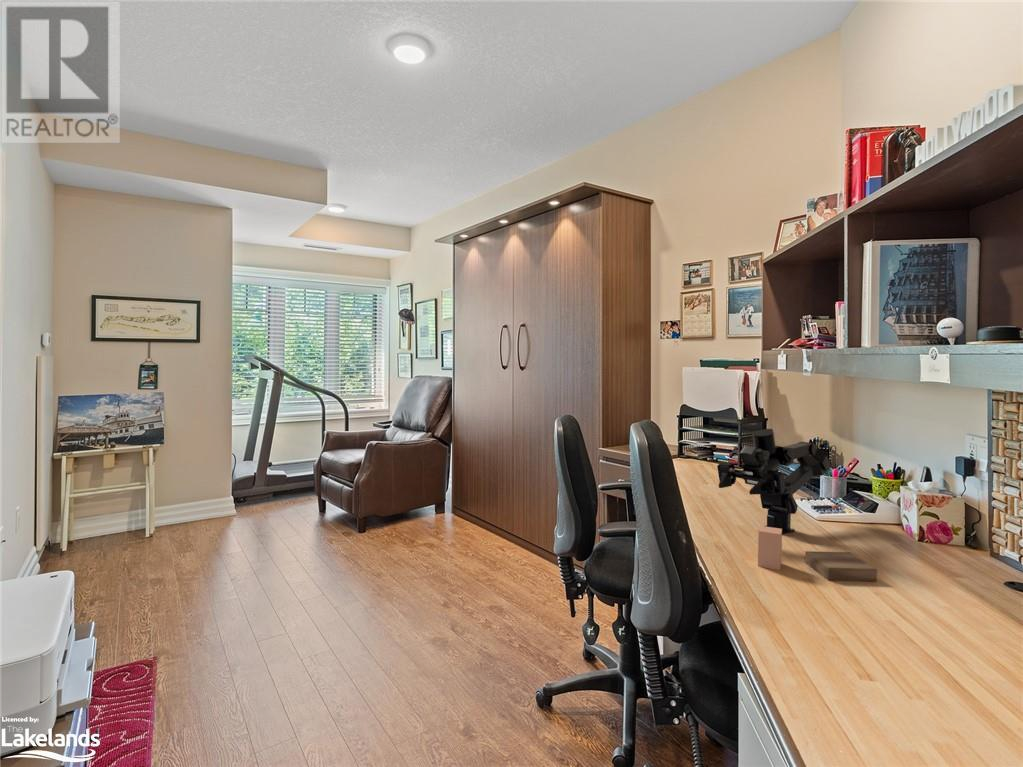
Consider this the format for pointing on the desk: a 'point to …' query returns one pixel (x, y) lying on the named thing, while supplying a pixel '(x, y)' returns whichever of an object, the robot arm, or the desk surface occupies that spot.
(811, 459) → the robot arm
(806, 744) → the desk surface
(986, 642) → the desk surface
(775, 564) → the terracotta block
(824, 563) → the walnut plinth
